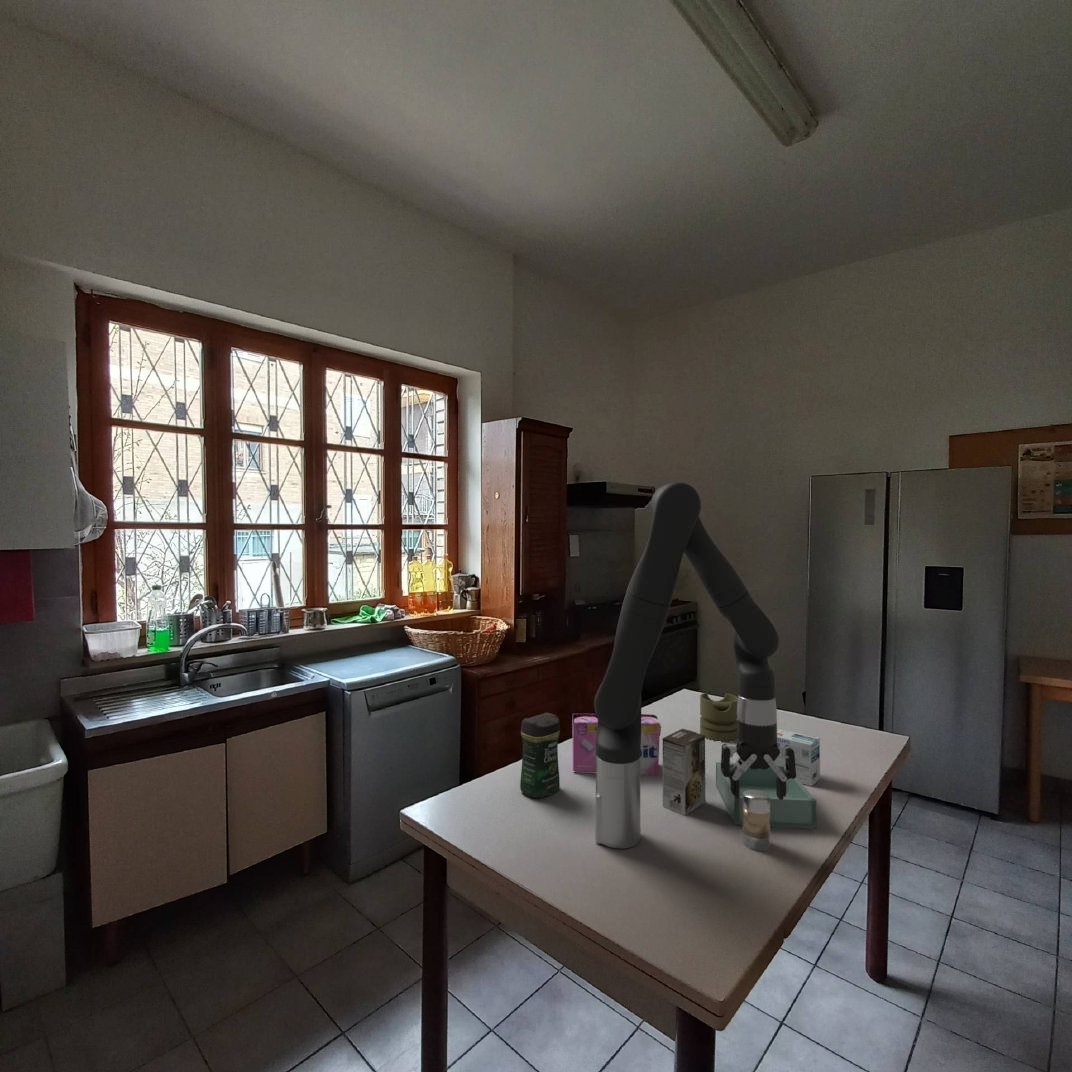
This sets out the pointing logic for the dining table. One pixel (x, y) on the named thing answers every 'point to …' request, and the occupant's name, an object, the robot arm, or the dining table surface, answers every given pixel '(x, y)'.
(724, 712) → the piston
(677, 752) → the coffee box
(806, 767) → the light bulb box
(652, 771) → the gum box
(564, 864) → the dining table surface
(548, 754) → the coffee jar
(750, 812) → the shiny silver brown cylinder
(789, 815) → the green tray
